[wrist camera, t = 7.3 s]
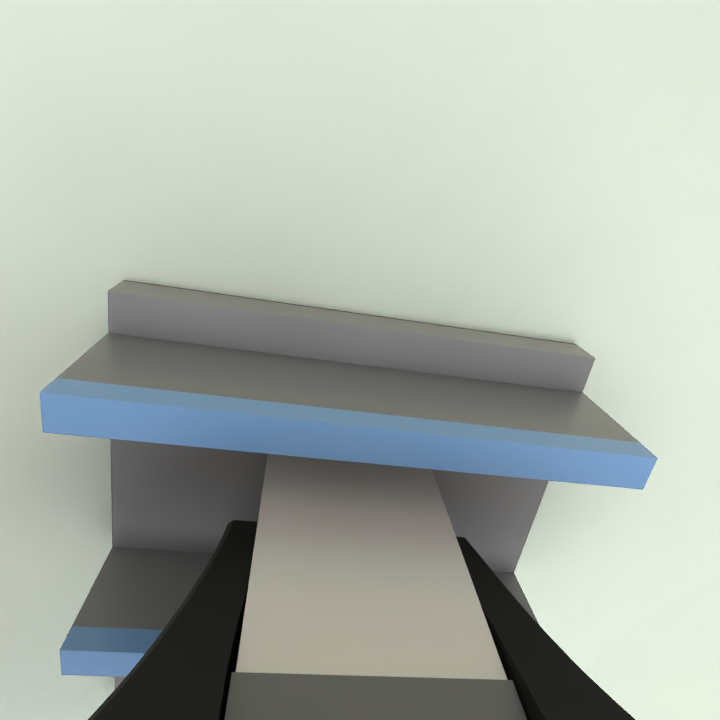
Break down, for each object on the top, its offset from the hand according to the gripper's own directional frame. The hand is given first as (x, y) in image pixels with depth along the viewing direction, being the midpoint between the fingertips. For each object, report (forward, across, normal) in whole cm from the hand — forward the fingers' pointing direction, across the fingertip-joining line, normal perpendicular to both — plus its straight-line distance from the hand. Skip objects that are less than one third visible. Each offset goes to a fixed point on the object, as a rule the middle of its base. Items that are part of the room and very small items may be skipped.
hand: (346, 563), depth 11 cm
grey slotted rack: (+4, 0, +6) cm, 7 cm away
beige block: (+2, 0, 0) cm, 2 cm away
